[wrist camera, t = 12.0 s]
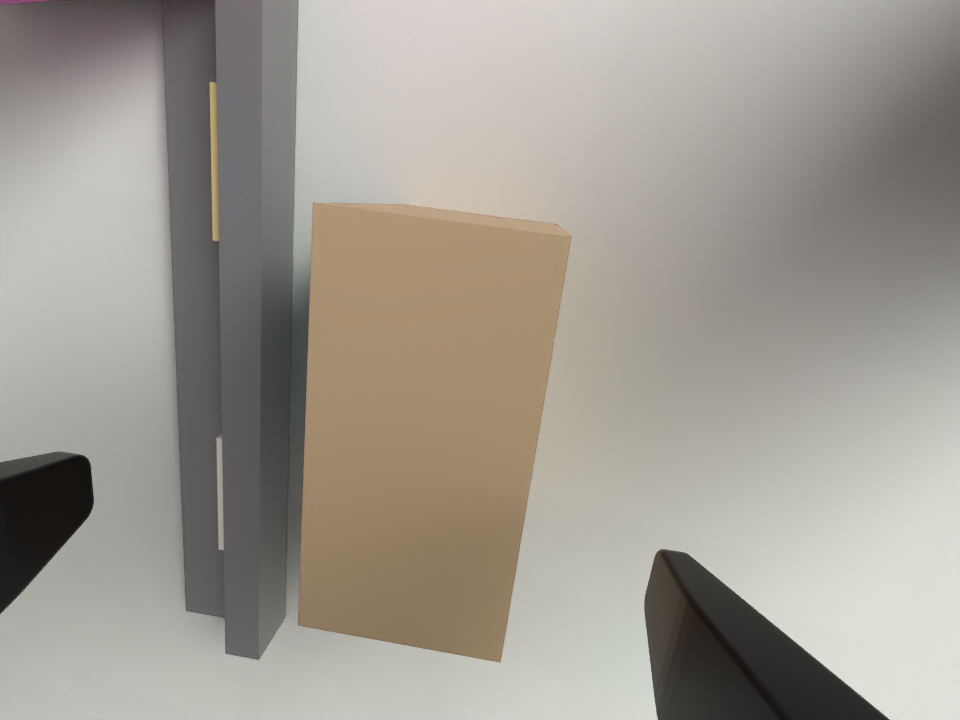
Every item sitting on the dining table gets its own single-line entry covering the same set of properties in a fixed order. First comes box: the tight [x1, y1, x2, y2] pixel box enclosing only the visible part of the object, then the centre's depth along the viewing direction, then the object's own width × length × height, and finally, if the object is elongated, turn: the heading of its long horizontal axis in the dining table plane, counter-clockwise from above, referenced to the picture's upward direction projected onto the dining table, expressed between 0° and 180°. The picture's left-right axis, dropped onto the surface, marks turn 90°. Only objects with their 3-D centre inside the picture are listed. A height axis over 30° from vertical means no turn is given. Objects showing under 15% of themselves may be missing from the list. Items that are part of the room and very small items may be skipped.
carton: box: [298, 203, 571, 662], centre depth 14 cm, size 5×9×7 cm, turn 173°
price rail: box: [162, 0, 298, 660], centre depth 17 cm, size 22×4×2 cm, turn 173°
